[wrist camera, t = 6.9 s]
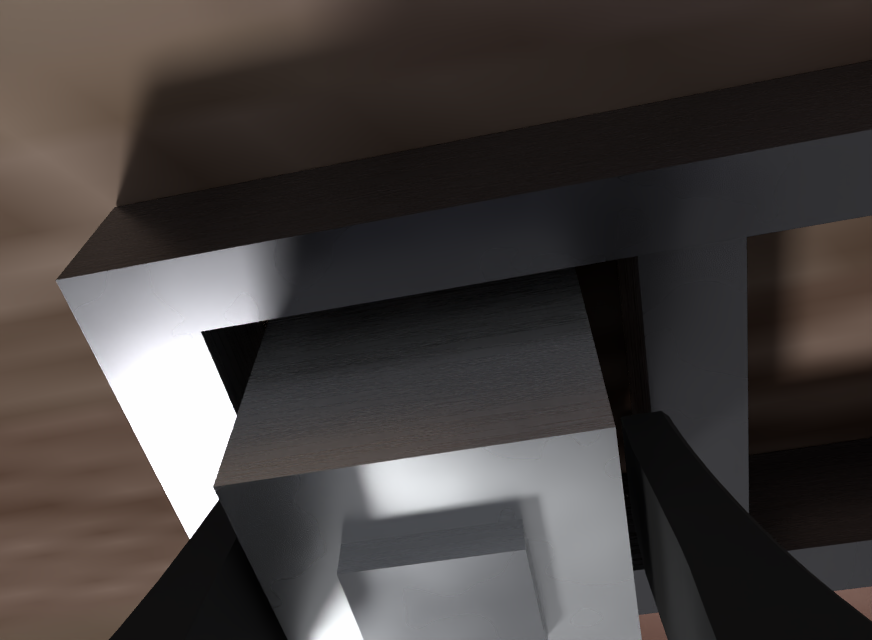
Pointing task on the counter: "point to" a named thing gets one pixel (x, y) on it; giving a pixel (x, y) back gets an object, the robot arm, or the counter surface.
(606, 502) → the block
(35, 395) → the counter surface
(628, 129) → the grey flat rectangular frame
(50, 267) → the counter surface
